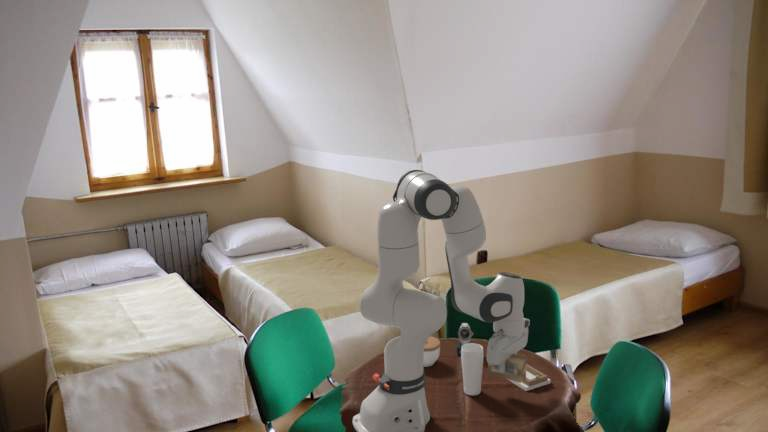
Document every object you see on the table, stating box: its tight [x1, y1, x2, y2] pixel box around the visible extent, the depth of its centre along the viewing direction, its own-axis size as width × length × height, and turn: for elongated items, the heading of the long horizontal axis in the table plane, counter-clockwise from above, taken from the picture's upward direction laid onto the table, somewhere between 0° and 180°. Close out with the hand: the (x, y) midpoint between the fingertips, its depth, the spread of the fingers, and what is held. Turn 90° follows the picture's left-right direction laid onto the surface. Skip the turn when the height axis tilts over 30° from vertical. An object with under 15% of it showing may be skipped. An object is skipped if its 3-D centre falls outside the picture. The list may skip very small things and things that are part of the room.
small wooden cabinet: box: [507, 363, 552, 392], centre depth 198 cm, size 10×16×4 cm, turn 27°
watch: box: [456, 322, 474, 357], centre depth 216 cm, size 6×8×11 cm
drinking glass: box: [460, 342, 484, 397], centre depth 188 cm, size 7×7×15 cm
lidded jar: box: [423, 335, 441, 368], centre depth 210 cm, size 11×11×9 cm
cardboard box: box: [487, 354, 528, 383], centre depth 185 cm, size 4×11×7 cm, turn 52°
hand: (506, 368), depth 185 cm, fingers closed on cardboard box, 4 cm apart
